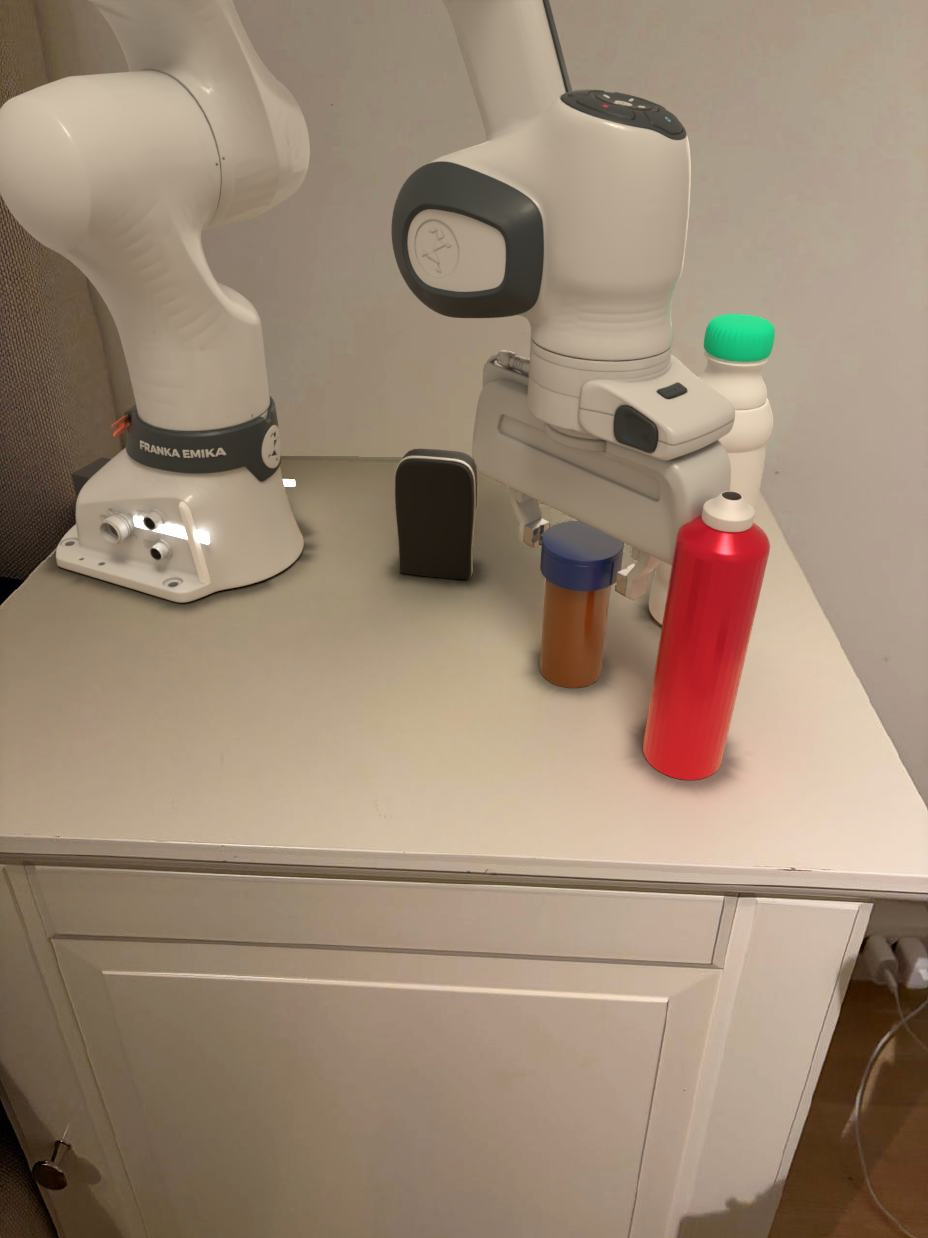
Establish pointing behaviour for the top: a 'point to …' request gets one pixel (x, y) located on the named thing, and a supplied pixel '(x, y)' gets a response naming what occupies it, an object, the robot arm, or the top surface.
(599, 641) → the jar
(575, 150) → the robot arm
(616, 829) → the top surface
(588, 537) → the lid
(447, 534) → the battery charger
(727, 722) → the bottle
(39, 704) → the top surface
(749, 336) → the water bottle
